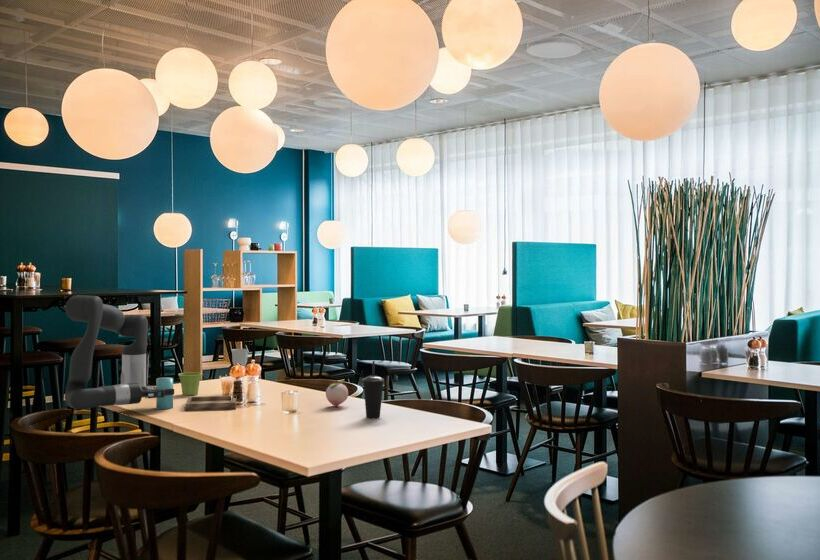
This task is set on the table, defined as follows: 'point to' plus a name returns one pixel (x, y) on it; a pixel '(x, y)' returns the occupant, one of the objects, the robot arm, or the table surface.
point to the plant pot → (190, 382)
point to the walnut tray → (210, 403)
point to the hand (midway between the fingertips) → (169, 390)
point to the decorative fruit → (336, 393)
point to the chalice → (239, 356)
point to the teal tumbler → (168, 399)
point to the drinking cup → (373, 394)
